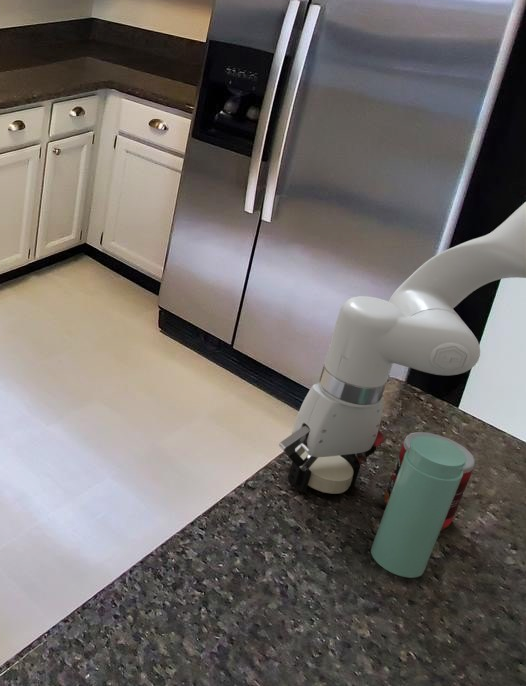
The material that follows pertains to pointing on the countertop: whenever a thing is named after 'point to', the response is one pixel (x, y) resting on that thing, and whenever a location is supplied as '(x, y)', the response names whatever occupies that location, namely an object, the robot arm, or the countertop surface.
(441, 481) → the thermos
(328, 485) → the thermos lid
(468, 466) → the canned food
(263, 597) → the countertop surface
